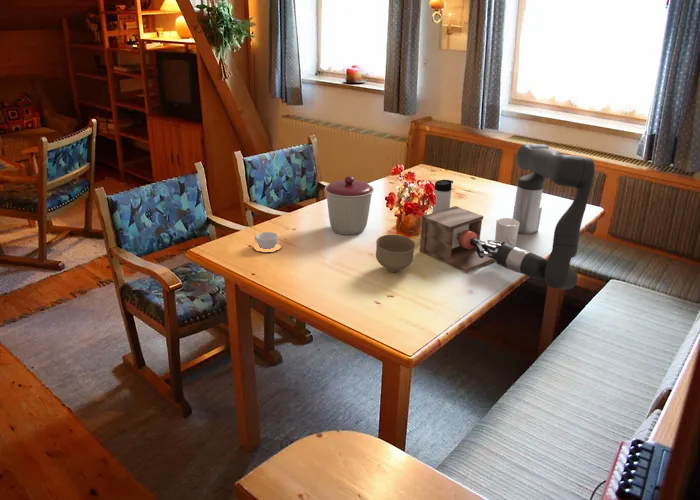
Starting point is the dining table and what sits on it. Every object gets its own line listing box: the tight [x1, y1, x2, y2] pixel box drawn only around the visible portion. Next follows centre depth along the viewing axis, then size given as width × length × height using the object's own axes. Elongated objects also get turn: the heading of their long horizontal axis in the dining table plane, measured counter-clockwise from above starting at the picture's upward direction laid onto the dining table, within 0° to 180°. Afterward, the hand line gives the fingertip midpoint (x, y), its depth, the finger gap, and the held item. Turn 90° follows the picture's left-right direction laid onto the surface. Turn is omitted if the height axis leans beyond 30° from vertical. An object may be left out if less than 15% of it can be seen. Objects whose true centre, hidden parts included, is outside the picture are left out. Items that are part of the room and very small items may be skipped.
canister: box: [324, 175, 375, 235], centre depth 216 cm, size 18×18×21 cm
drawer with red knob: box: [452, 224, 477, 249], centre depth 199 cm, size 12×10×8 cm
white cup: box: [494, 217, 520, 246], centre depth 205 cm, size 8×8×10 cm
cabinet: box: [419, 206, 496, 273], centre depth 198 cm, size 21×17×13 cm
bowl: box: [375, 234, 416, 273], centre depth 187 cm, size 13×13×10 cm
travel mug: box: [431, 179, 454, 213], centre depth 217 cm, size 6×7×20 cm
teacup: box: [254, 231, 279, 249], centre depth 202 cm, size 10×10×5 cm
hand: (471, 241), depth 194 cm, fingers closed
